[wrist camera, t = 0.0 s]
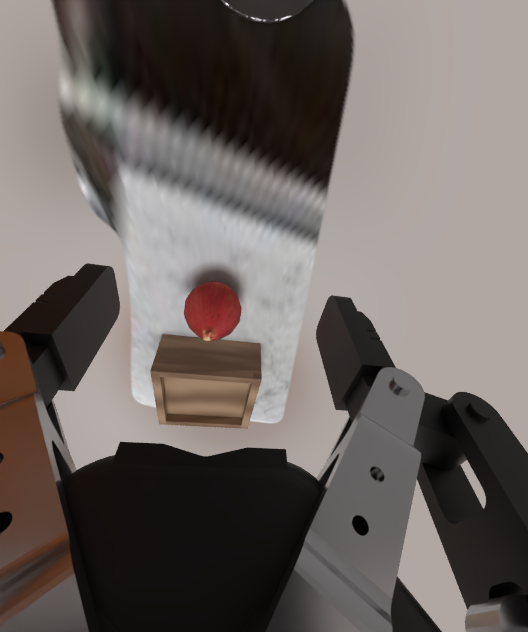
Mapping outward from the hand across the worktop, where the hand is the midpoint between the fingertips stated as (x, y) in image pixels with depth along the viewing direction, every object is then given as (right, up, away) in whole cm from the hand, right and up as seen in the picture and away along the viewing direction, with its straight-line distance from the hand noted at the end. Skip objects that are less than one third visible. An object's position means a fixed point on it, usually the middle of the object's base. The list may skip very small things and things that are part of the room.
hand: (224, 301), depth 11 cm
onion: (-4, +3, +21) cm, 22 cm away
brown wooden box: (-7, -8, +31) cm, 33 cm away
